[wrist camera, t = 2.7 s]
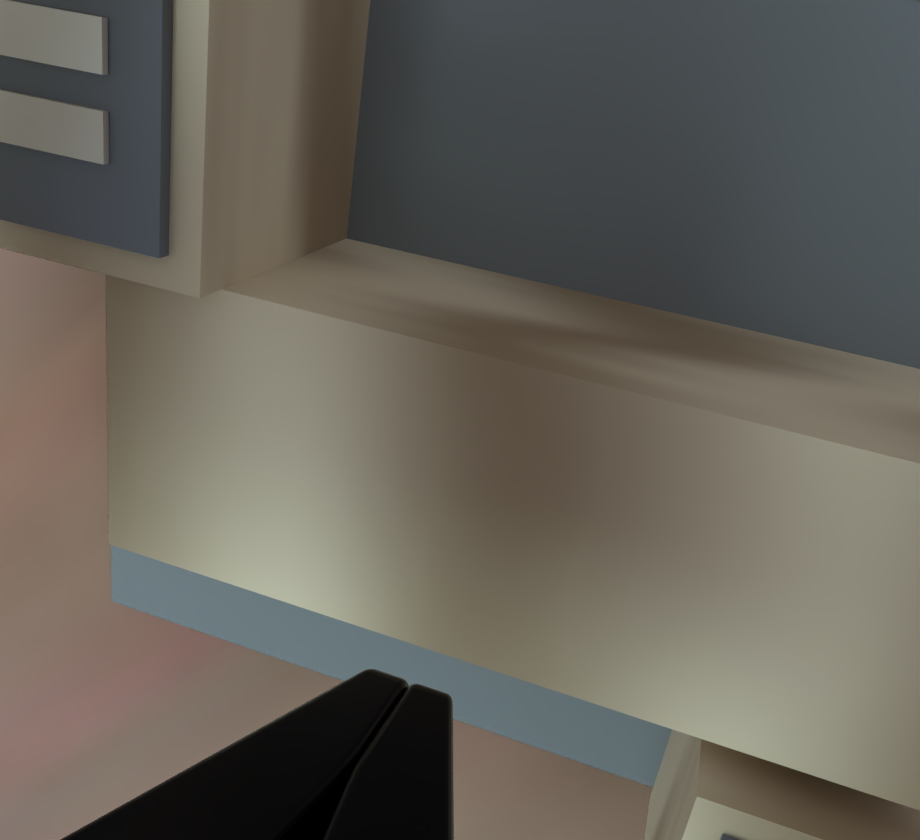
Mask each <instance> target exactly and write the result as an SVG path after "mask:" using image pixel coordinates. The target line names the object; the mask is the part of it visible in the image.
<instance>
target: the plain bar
mask: <svg viewBox="0 0 920 840" xmlns="http://www.w3.org/2000/svg"><path fill="white" fill-rule="evenodd" d="M106 347H107V429H108V512H109V545H113V546H116V547H119V548H122V549H125V550H128V551H131V552H134V553H137V554H140V555H143V556H146V557H149V558H152V559H155V560H158V561H161V562H164V563H167V564H170V565H173V566H176V567H179V568H183V569H186V570H189V571H192V572H195V573H198V574H201V575H204V576H207V577H210V578H213V579H216V580H219V581H222V582H225V583H228V584H231V585H234V586H237V587H240V588H243V589H246V590H250V591H253V592H256V593H259V594H262V595H265V596H268V597H271V598H274V599H277V600H280V601H283V602H286V603H289V604H292V605H295V606H298V607H301V608H304V609H307V610H310V611H313V612H317V613H320V614H323V615H326V616H329V617H332V618H335V619H338V620H341V621H344V622H347V623H350V624H353V625H356V626H359V627H362V628H365V629H368V630H371V631H374V632H377V633H380V634H383V635H387V636H390V637H393V638H396V639H399V640H402V641H405V642H408V643H411V644H414V645H417V646H420V647H423V648H426V649H429V650H432V651H435V652H438V653H441V654H444V655H447V656H450V657H454V658H457V659H460V660H463V661H466V662H469V663H472V664H475V665H478V666H481V667H484V668H487V669H490V670H493V671H496V672H499V673H502V674H505V675H508V676H511V677H514V678H517V679H520V680H524V681H527V682H530V683H533V684H536V685H539V686H542V687H545V688H548V689H551V690H554V691H557V692H560V693H563V694H566V695H569V696H572V697H575V698H578V699H581V700H584V701H587V702H591V703H594V704H597V705H600V706H603V707H606V708H609V709H612V710H615V711H618V712H621V713H624V714H627V715H630V716H633V717H636V718H639V719H642V720H645V721H648V722H651V723H654V724H658V725H661V726H664V727H667V728H670V729H673V730H676V731H679V732H682V733H685V734H688V735H691V736H694V737H697V738H700V739H703V740H706V741H709V742H712V743H715V744H718V745H721V746H724V747H728V748H731V749H734V750H737V751H740V752H743V753H746V754H749V755H752V756H755V757H758V758H761V759H764V760H767V761H770V762H773V763H776V764H779V765H782V766H785V767H788V768H791V769H795V770H798V771H801V772H804V773H807V774H810V775H813V776H816V777H819V778H822V779H825V780H828V781H831V782H834V783H837V784H840V785H843V786H846V787H849V788H852V789H855V790H858V791H862V792H865V793H868V794H871V795H874V796H877V797H880V798H883V799H886V800H889V801H892V802H895V803H898V804H901V805H904V806H907V807H910V808H913V809H916V810H919V811H920V369H918V368H914V367H909V366H905V365H900V364H896V363H892V362H887V361H883V360H878V359H874V358H870V357H865V356H861V355H856V354H852V353H848V352H843V351H839V350H835V349H830V348H826V347H821V346H817V345H813V344H808V343H804V342H799V341H795V340H791V339H786V338H782V337H777V336H773V335H769V334H764V333H760V332H755V331H751V330H747V329H742V328H738V327H733V326H729V325H725V324H720V323H716V322H711V321H707V320H703V319H698V318H694V317H690V316H685V315H681V314H676V313H672V312H668V311H663V310H659V309H654V308H650V307H646V306H641V305H637V304H632V303H628V302H624V301H619V300H615V299H610V298H606V297H602V296H597V295H593V294H588V293H584V292H580V291H575V290H571V289H566V288H562V287H558V286H553V285H549V284H545V283H540V282H536V281H531V280H527V279H523V278H518V277H514V276H509V275H505V274H501V273H496V272H492V271H487V270H483V269H479V268H474V267H470V266H465V265H461V264H457V263H452V262H448V261H443V260H439V259H435V258H430V257H426V256H422V255H417V254H413V253H408V252H404V251H400V250H395V249H391V248H386V247H382V246H378V245H373V244H369V243H364V242H360V241H356V240H351V239H347V238H346V239H344V240H342V241H339V242H337V243H334V244H332V245H329V246H327V247H324V248H322V249H319V250H317V251H315V252H312V253H310V254H307V255H305V256H302V257H300V258H297V259H295V260H292V261H290V262H288V263H285V264H283V265H280V266H278V267H275V268H273V269H270V270H268V271H265V272H263V273H261V274H258V275H256V276H253V277H251V278H248V279H246V280H243V281H241V282H238V283H236V284H234V285H231V286H229V287H226V288H224V289H221V290H219V291H216V292H214V293H211V294H209V295H207V296H204V297H202V298H197V297H193V296H189V295H185V294H181V293H177V292H173V291H169V290H165V289H161V288H157V287H153V286H149V285H145V284H141V283H137V282H133V281H129V280H125V279H121V278H117V277H114V276H110V275H106Z"/></svg>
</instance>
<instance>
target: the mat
mask: <svg viewBox="0 0 920 840" xmlns="http://www.w3.org/2000/svg"><path fill="white" fill-rule="evenodd" d="M347 239H351V240H356V241H360V242H364V243H369V244H373V245H378V246H382V247H386V248H391V249H395V250H400V251H404V252H408V253H413V254H417V255H422V256H426V257H430V258H435V259H439V260H443V261H448V262H452V263H457V264H461V265H465V266H470V267H474V268H479V269H483V270H487V271H492V272H496V273H501V274H505V275H509V276H514V277H518V278H523V279H527V280H531V281H536V282H540V283H545V284H549V285H553V286H558V287H562V288H566V289H571V290H575V291H580V292H584V293H588V294H593V295H597V296H602V297H606V298H610V299H615V300H619V301H624V302H628V303H632V304H637V305H641V306H646V307H650V308H654V309H659V310H663V311H668V312H672V313H676V314H681V315H685V316H690V317H694V318H698V319H703V320H707V321H711V322H716V323H720V324H725V325H729V326H733V327H738V328H742V329H747V330H751V331H755V332H760V333H764V334H769V335H773V336H777V337H782V338H786V339H791V340H795V341H799V342H804V343H808V344H813V345H817V346H821V347H826V348H830V349H835V350H839V351H843V352H848V353H852V354H856V355H861V356H865V357H870V358H874V359H878V360H883V361H887V362H892V363H896V364H900V365H905V366H909V367H914V368H918V369H920V1H915V0H370V9H369V19H368V29H367V39H366V49H365V59H364V69H363V79H362V89H361V99H360V109H359V119H358V129H357V139H356V149H355V159H354V169H353V179H352V189H351V199H350V209H349V219H348V229H347ZM111 593H112V601H113V602H116V603H119V604H122V605H124V606H127V607H130V608H133V609H136V610H139V611H142V612H145V613H148V614H151V615H154V616H156V617H159V618H162V619H165V620H168V621H171V622H174V623H177V624H180V625H183V626H185V627H188V628H191V629H194V630H197V631H200V632H203V633H206V634H209V635H212V636H215V637H217V638H220V639H223V640H226V641H229V642H232V643H235V644H238V645H241V646H244V647H247V648H249V649H252V650H255V651H258V652H261V653H264V654H267V655H270V656H273V657H276V658H279V659H281V660H284V661H287V662H290V663H293V664H296V665H299V666H302V667H305V668H308V669H310V670H313V671H316V672H319V673H322V674H325V675H328V676H331V677H334V678H337V679H340V680H342V681H345V680H347V679H349V678H351V677H353V676H354V675H356V674H358V673H360V672H362V671H364V670H367V669H376V670H379V671H382V672H385V673H388V674H391V675H394V676H397V677H400V678H403V679H404V680H406V682H407V683H408V685H409V686H410V685H412V684H420V685H423V686H426V687H429V688H432V689H435V690H438V691H441V692H444V693H447V694H449V695H450V696H451V698H452V701H453V719H456V720H459V721H462V722H465V723H467V724H470V725H473V726H476V727H479V728H482V729H485V730H488V731H491V732H494V733H496V734H499V735H502V736H505V737H508V738H511V739H514V740H517V741H520V742H523V743H526V744H528V745H531V746H534V747H537V748H540V749H543V750H546V751H549V752H552V753H555V754H558V755H560V756H563V757H566V758H569V759H572V760H575V761H578V762H581V763H584V764H587V765H589V766H592V767H595V768H598V769H601V770H604V771H607V772H610V773H613V774H616V775H619V776H621V777H624V778H627V779H630V780H633V781H636V782H639V783H642V784H645V785H648V786H651V787H653V786H654V783H655V780H656V777H657V774H658V771H659V768H660V765H661V762H662V759H663V756H664V753H665V749H666V746H667V743H668V740H669V737H670V734H671V731H672V729H670V728H667V727H664V726H661V725H658V724H654V723H651V722H648V721H645V720H642V719H639V718H636V717H633V716H630V715H627V714H624V713H621V712H618V711H615V710H612V709H609V708H606V707H603V706H600V705H597V704H594V703H591V702H587V701H584V700H581V699H578V698H575V697H572V696H569V695H566V694H563V693H560V692H557V691H554V690H551V689H548V688H545V687H542V686H539V685H536V684H533V683H530V682H527V681H524V680H520V679H517V678H514V677H511V676H508V675H505V674H502V673H499V672H496V671H493V670H490V669H487V668H484V667H481V666H478V665H475V664H472V663H469V662H466V661H463V660H460V659H457V658H454V657H450V656H447V655H444V654H441V653H438V652H435V651H432V650H429V649H426V648H423V647H420V646H417V645H414V644H411V643H408V642H405V641H402V640H399V639H396V638H393V637H390V636H387V635H383V634H380V633H377V632H374V631H371V630H368V629H365V628H362V627H359V626H356V625H353V624H350V623H347V622H344V621H341V620H338V619H335V618H332V617H329V616H326V615H323V614H320V613H317V612H313V611H310V610H307V609H304V608H301V607H298V606H295V605H292V604H289V603H286V602H283V601H280V600H277V599H274V598H271V597H268V596H265V595H262V594H259V593H256V592H253V591H250V590H246V589H243V588H240V587H237V586H234V585H231V584H228V583H225V582H222V581H219V580H216V579H213V578H210V577H207V576H204V575H201V574H198V573H195V572H192V571H189V570H186V569H183V568H179V567H176V566H173V565H170V564H167V563H164V562H161V561H158V560H155V559H152V558H149V557H146V556H143V555H140V554H137V553H134V552H131V551H128V550H125V549H122V548H119V547H116V546H113V545H111Z"/></svg>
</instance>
